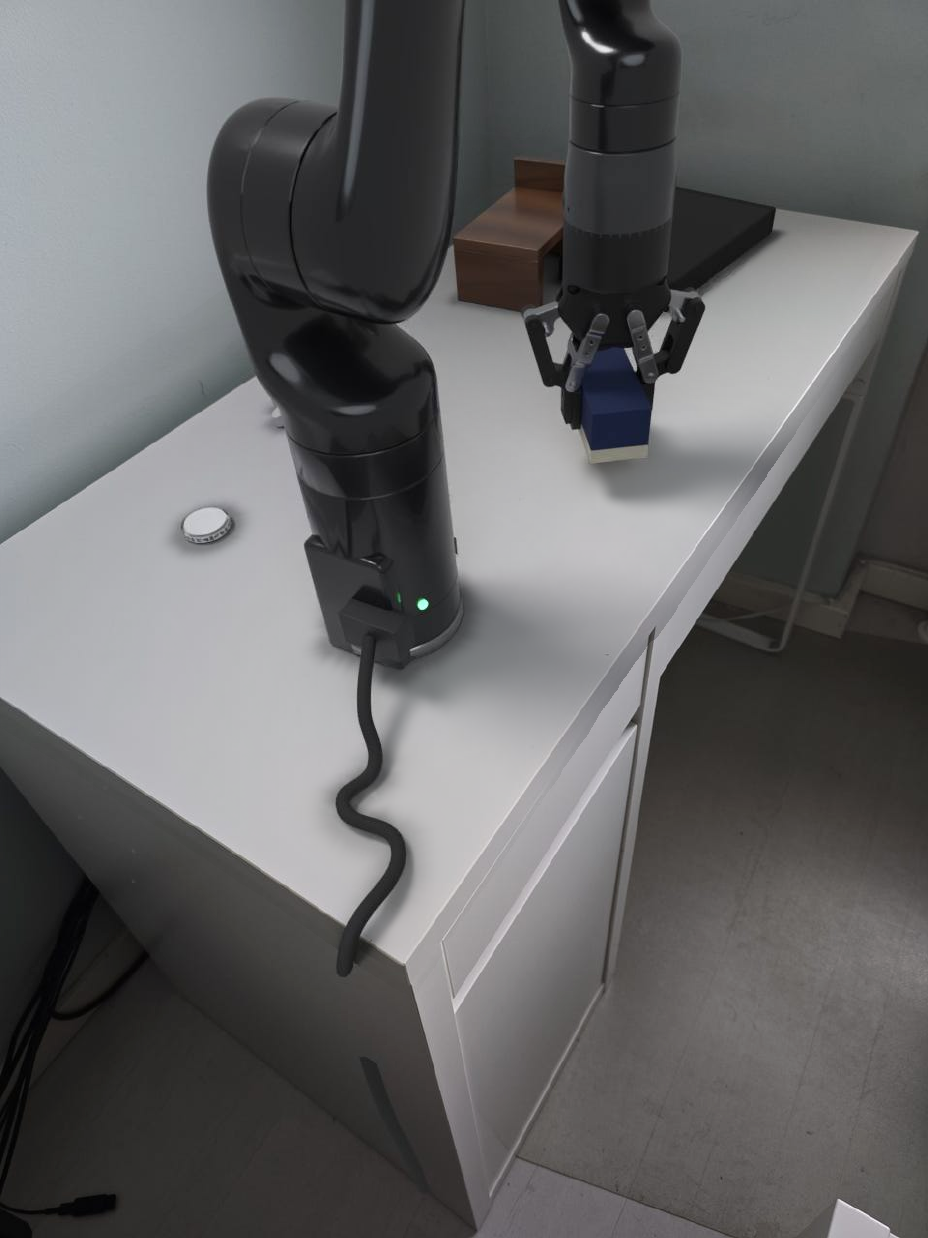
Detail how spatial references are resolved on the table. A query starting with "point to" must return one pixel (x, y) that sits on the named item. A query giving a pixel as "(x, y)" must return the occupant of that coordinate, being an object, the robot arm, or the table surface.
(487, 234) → the shelf
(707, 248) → the external hard drive
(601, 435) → the whiteboard eraser
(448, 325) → the table surface
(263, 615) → the table surface
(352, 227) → the robot arm
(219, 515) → the white bottle cap
